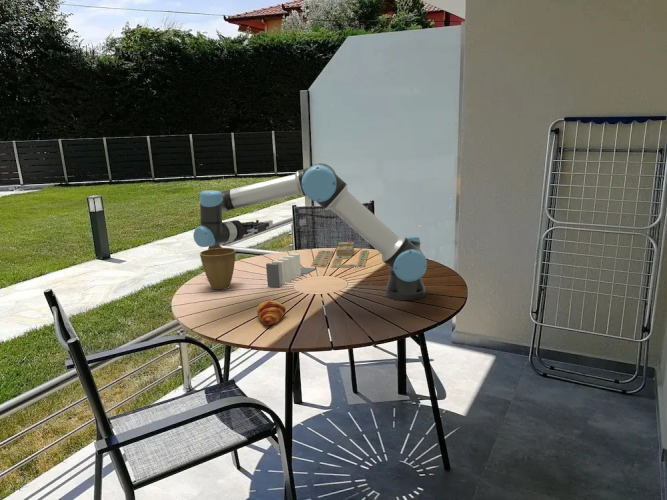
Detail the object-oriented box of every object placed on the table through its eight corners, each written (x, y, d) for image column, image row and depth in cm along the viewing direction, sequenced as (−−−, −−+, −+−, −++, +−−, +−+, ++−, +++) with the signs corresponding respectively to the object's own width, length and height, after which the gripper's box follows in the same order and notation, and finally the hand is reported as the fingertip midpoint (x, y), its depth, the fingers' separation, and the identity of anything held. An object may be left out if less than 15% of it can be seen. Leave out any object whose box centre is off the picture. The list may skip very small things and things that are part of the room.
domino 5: (299, 276, 233) (297, 254, 231) (289, 275, 235) (288, 254, 233) (301, 275, 235) (299, 254, 232) (291, 274, 237) (290, 253, 234)
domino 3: (288, 281, 225) (287, 259, 223) (279, 280, 228) (277, 258, 225) (290, 280, 227) (289, 258, 225) (281, 279, 229) (279, 258, 227)
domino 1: (277, 287, 218) (275, 264, 215) (267, 286, 220) (265, 264, 218) (279, 286, 219) (278, 264, 217) (269, 285, 221) (268, 263, 219)
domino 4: (294, 279, 229) (292, 257, 227) (284, 278, 231) (283, 256, 229) (296, 278, 231) (294, 256, 228) (286, 277, 233) (285, 255, 231)
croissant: (266, 316, 194) (255, 299, 193) (289, 303, 193) (278, 286, 192) (261, 337, 173) (248, 318, 172) (287, 322, 173) (274, 303, 171)
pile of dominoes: (319, 252, 279) (318, 242, 278) (369, 251, 276) (368, 241, 275) (308, 269, 246) (307, 258, 245) (364, 268, 242) (364, 257, 241)
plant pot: (225, 294, 213) (221, 256, 209) (196, 291, 219) (192, 254, 215) (245, 283, 226) (242, 248, 222) (218, 281, 232) (214, 246, 228)
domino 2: (283, 284, 222) (281, 262, 219) (273, 283, 224) (271, 261, 221) (285, 283, 223) (283, 261, 221) (275, 282, 225) (273, 260, 223)
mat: (306, 274, 236) (306, 273, 236) (291, 272, 239) (291, 272, 239) (315, 269, 244) (315, 268, 243) (301, 267, 247) (301, 267, 247)
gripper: (218, 238, 196) (259, 230, 215) (243, 243, 189) (283, 234, 209) (217, 219, 194) (259, 212, 214) (243, 223, 187) (283, 215, 207)
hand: (271, 223), depth 211 cm, fingers closed
